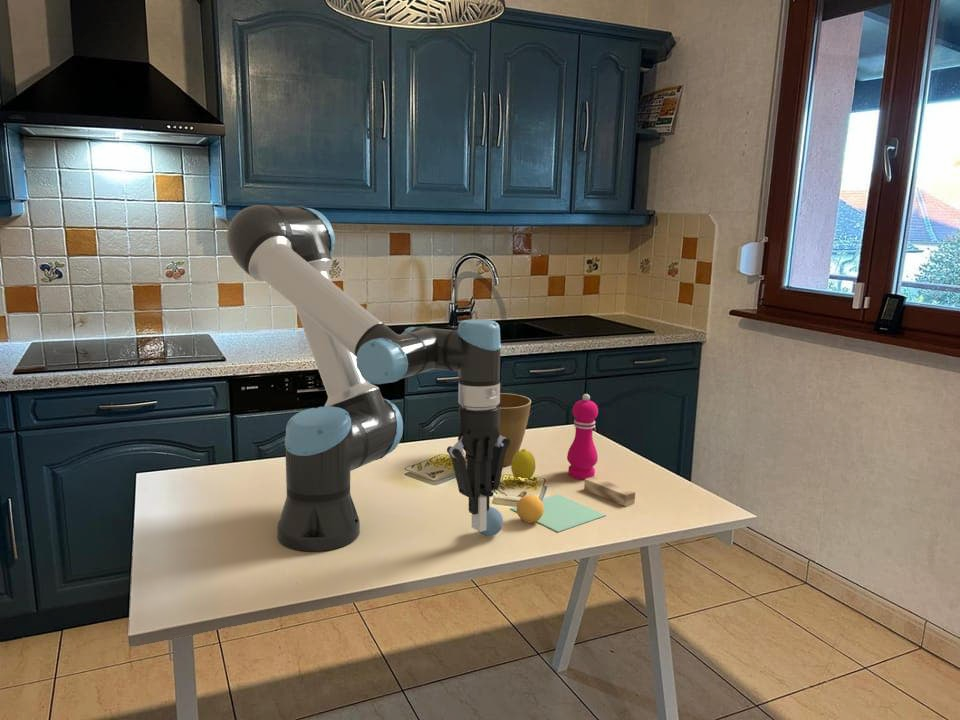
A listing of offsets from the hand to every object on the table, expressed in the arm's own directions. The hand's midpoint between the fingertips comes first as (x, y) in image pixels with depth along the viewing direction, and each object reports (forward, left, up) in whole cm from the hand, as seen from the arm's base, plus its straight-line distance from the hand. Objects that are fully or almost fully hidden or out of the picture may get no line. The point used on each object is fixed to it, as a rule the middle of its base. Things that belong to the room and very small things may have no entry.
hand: (478, 528), depth 135 cm
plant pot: (-27, +38, -3) cm, 47 cm away
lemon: (-14, +31, -3) cm, 34 cm away
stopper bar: (+5, +38, -3) cm, 39 cm away
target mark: (+2, +22, -3) cm, 23 cm away
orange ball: (+1, +14, 0) cm, 15 cm away
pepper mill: (-7, +45, -3) cm, 46 cm away
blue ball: (-1, +4, 0) cm, 4 cm away
